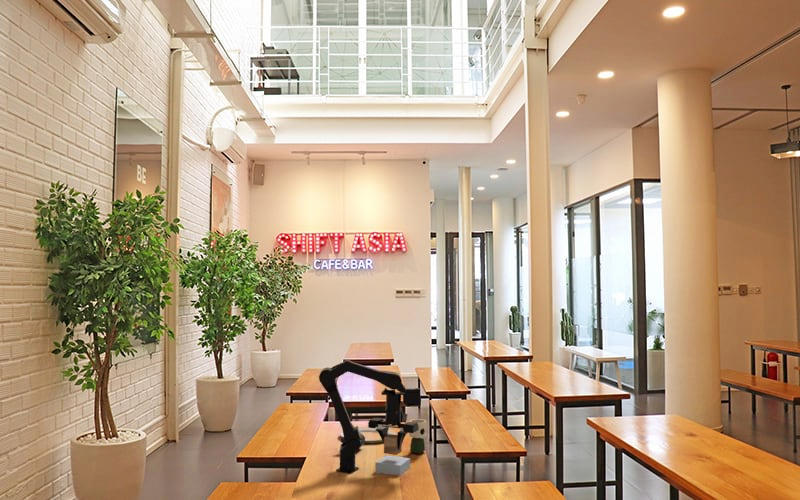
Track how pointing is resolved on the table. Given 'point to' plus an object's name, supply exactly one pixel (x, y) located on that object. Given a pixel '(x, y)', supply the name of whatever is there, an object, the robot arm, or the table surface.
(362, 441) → the end cap
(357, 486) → the table surface
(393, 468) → the slate block
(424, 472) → the table surface
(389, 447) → the walnut block
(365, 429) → the plate
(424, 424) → the character mug
